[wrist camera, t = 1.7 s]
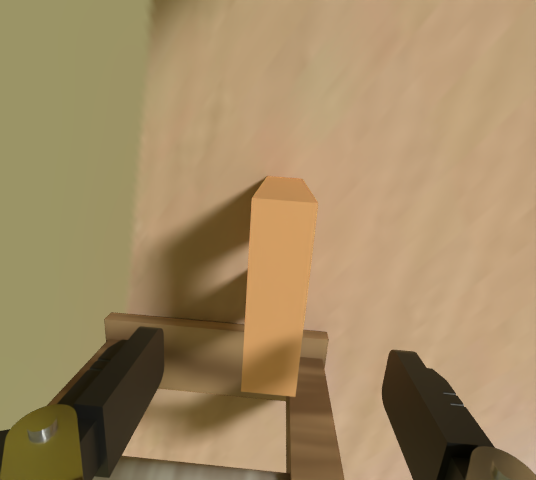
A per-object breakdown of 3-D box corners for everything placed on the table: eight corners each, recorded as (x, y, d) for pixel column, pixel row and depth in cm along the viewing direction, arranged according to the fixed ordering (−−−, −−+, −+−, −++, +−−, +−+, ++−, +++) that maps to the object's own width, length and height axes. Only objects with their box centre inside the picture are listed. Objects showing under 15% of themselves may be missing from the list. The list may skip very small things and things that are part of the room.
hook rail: (111, 312, 28) (-36, 449, 15) (326, 332, 28) (364, 491, 15) (116, 374, 30) (-10, 543, 17) (317, 394, 30) (343, 584, 17)
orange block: (267, 176, 24) (251, 197, 13) (302, 178, 24) (318, 203, 13) (259, 290, 27) (240, 391, 16) (290, 293, 27) (295, 396, 16)
